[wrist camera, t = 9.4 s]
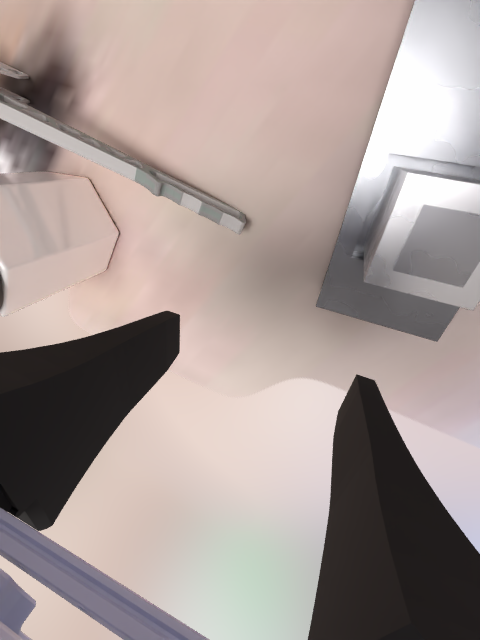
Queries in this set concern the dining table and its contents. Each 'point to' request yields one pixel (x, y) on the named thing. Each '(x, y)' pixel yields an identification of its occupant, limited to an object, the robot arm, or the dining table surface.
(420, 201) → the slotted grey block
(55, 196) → the jar
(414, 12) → the slotted metal plate
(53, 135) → the bracket
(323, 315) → the dining table surface
